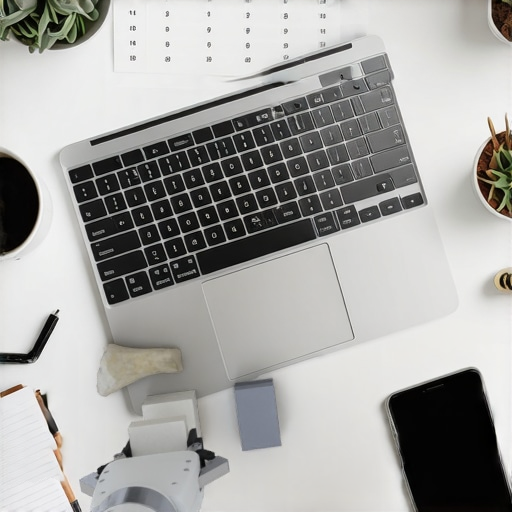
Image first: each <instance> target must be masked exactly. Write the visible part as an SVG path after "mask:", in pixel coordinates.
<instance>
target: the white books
mask: <svg viewBox="0 0 512 512" xmlns="http://www.w3.org/2000/svg"><path fill="white" fill-rule="evenodd" d="M141 410H142V411H141V412H142V419H143V420H151V419H158V418H166V417H174V416H181V415H186V418H187V425H188V431H190V430H191V429H192V428H196V431H197V438H199V437H202V438H203V436H202V429H201V423H200V422H201V421H200V414H199V407H198V401H197V395H196V390H195V389H190V390H183V391H176V392H168V393H162V394H161V393H160V394H153V395H147V396H146V397H145V398H144V400H143V402H142V404H141Z"/></svg>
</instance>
